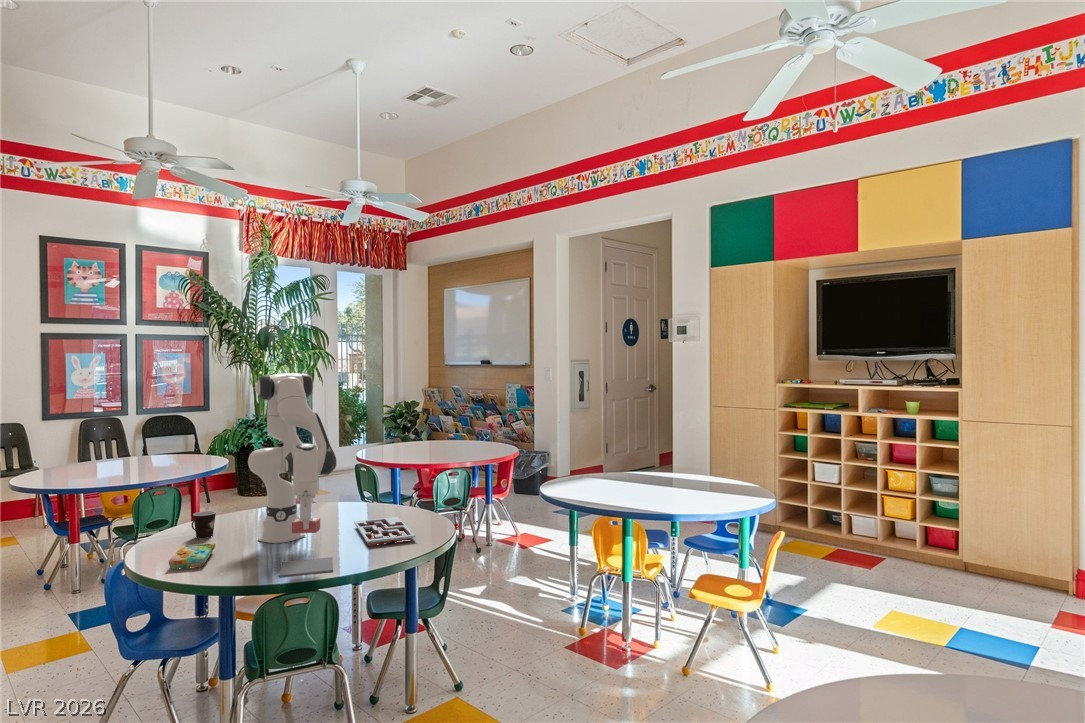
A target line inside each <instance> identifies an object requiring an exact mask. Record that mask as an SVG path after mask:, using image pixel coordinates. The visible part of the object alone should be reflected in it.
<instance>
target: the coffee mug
mask: <svg viewBox="0 0 1085 723" xmlns="http://www.w3.org/2000/svg"><path fill="white" fill-rule="evenodd" d="M216 514H217V513H216V511H214V510H203V511H199V512H195V513H193V514H192V515H193V520H192V521H191V525H190V526H191V528H192V530H193V531H195V538H196V537H197V538H196V539H199V538H203V539H208V538H207V537H209V538H212V537H214V532H215V531H214V529H215V522H216ZM211 536H212V537H211Z"/></svg>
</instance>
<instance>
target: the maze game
mask: <svg viewBox="0 0 1085 723" xmlns="http://www.w3.org/2000/svg"><path fill="white" fill-rule="evenodd" d="M384 524H386V525H387V526H388V527H386V526H385V525H384ZM354 525H355V527H356V528H357V531H358V532H359V534H361V536H362V538H363V539H364V541H365V543H366V542H367V543H366V544H367V546H368V545H369V546H368V547H372V546H371V545H377V544H384V543H390V542H391V543H392V542H393V541H394V542H397V541H402V540H410V539H411V540H412V539H414V538H416V534H414V532H413V531H412V530H411V529H410V528H409V527H408V526H407V525H406V524H405V523H404V522H403V521H402V519H401V518H400V517H399V516H393V517H384V518H383V517H382V518H374V519H363V520H356V521H354ZM378 527H381V528H382V529H383V530H384V531H380V530H379V529H378ZM371 531H372V532H371ZM400 531H404V532H405V533H406V534H407V535H404V536H402V533H401V532H400ZM372 533H373V534H374V535H373V536H374V538H373V536H372V535H371V534H372ZM393 535H397V536H396V537H394V536H393ZM383 536H389V537H387V538H383ZM369 539H370V540H369ZM392 540H393V541H392ZM377 546H378V545H377Z"/></svg>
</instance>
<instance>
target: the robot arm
mask: <svg viewBox="0 0 1085 723" xmlns="http://www.w3.org/2000/svg"><path fill="white" fill-rule="evenodd" d="M255 389H256V390H255V391H256V394H257V396H258V397H259V399H260V400H264V401H268V402H267V409H266V412H267V414H266V415H267V416H266V419H267V421H266V423H267V424H266V427H267V428H266V429H267V434H268V435H269V436H270V437H271V438H272V439H273V438H274V439H276V440H278V441H280V442H282V444H283V446H277V447H264V448H263V447H262V448H260V449H256V450H253V451H252V452H250V454H249V457H248V460H247V465H248V468H249V470H250V471H251V472H252V473H253V474H254V475H256V476H258V477H259V478H260V479H261V481H262V482H263V483H264V485H265V488H266V494H267V495H266V497H267V505H266V517H265V518H264V519H263V520H262V532H261V533H262V534H261V535H260V536H258V538H257V541H258V542H265V543H271V544H272V543H273V544H279V543H287V542H292V541H295V540H298V539H302V538H305V537H306V533H292V522H293V521H294V520H295V519H299V518H300V519H301V520H303V529H309V519H311V518H312V511H313V504H314V503H313V502H314V499H315V498H316V495H317V494H319V492H320V478H319V476H328V475H330V474H332V472H333V471H335V469H336V467H337V457H336V454H335V451H334V449H333V448H332V445H331V443H330V441H329V439H328V438H329V437H328V435H327V432H326V430H325V428H324V425H323V423H322V420H321V417H320V416H319V414H318V413H316V412H315V411H314V410H312V409H311V407H310V406H309V404H308V400H307V398H309V397H310V396H311V395H312V394H313V390H314V382H313V379H312V377H311V375H310V374H308V373H303V372H301V373H293V372H291V373H290V372H284V373H274V374H263V375H260V376H259V377H258V378H257V382H256V384H255ZM297 428H300V429H303V430H306V431H308V432H310V433H311V434H312V436H313V439H314V442H315V444H316V445H315V444H313V443H307V442H304V443H303V442H302V441H301V439H300V438H299V435H298V433H297ZM283 473H286V474H287V475H289V476H291V477H293V481H292V482H291V481H288V480H285V479H284V478H282V477H281V476H280V474H283ZM296 499H297V500H299V501H300V502H299V515H298V514H297V513H298V510H297V509H298V506H297V505H298V504H296Z"/></svg>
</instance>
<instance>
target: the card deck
mask: <svg viewBox="0 0 1085 723" xmlns="http://www.w3.org/2000/svg"><path fill="white" fill-rule="evenodd" d="M319 530H321V517H311V519H309V529H303V520H301V519H300V517H299V519H295V520H294V521H293V522H292V533H305V534H317V533H318V532H319Z"/></svg>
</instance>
